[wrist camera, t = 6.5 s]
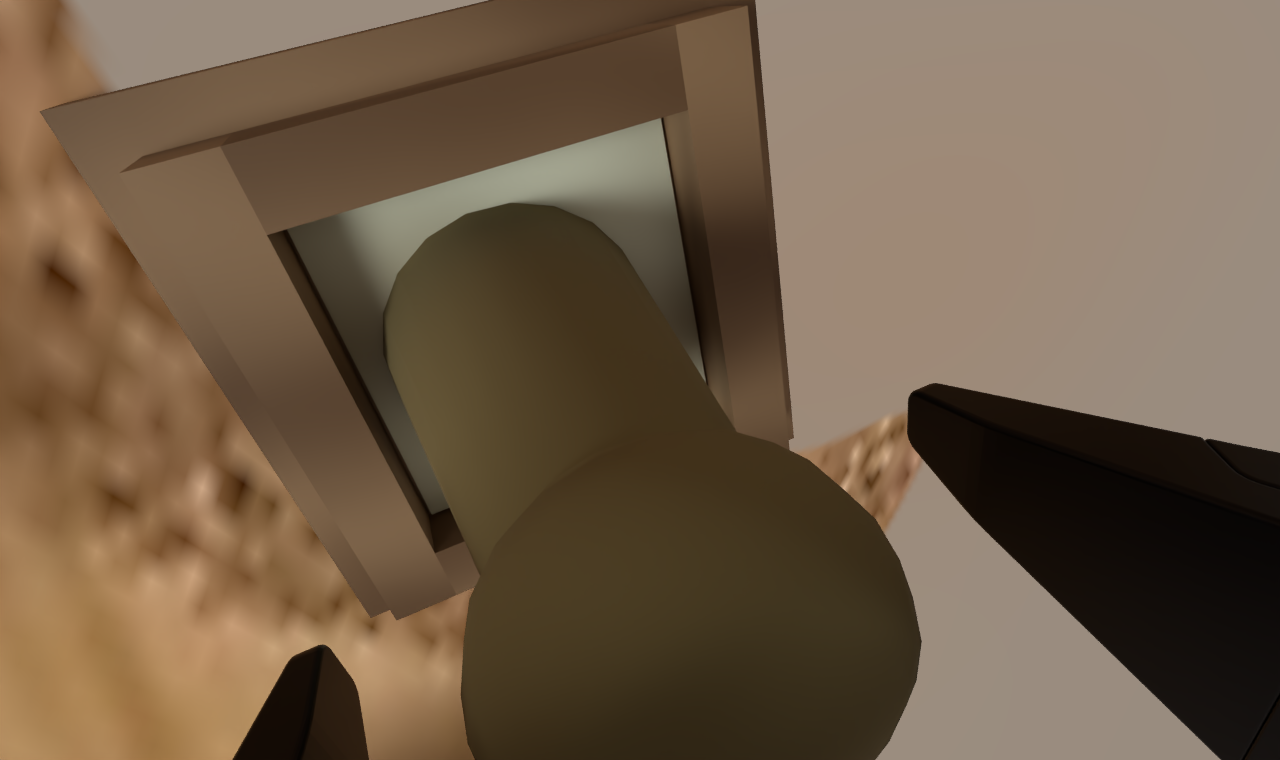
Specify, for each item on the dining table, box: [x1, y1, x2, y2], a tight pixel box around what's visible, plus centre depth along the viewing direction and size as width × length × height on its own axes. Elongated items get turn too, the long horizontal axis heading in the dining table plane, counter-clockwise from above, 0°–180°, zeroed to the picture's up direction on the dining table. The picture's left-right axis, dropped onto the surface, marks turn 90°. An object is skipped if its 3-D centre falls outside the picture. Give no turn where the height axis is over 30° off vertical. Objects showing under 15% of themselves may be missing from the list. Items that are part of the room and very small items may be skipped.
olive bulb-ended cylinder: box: [383, 203, 922, 760], centre depth 11 cm, size 6×6×11 cm
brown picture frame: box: [40, 0, 794, 620], centre depth 15 cm, size 13×13×2 cm
